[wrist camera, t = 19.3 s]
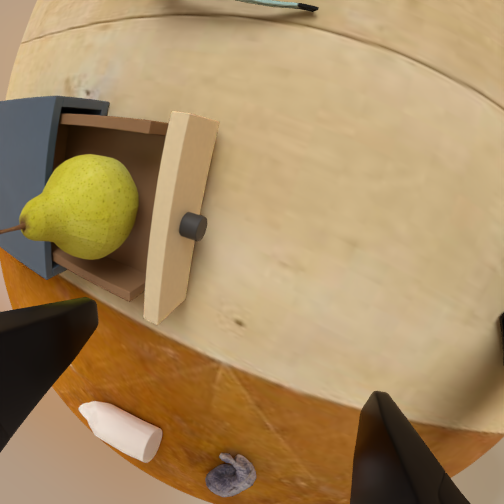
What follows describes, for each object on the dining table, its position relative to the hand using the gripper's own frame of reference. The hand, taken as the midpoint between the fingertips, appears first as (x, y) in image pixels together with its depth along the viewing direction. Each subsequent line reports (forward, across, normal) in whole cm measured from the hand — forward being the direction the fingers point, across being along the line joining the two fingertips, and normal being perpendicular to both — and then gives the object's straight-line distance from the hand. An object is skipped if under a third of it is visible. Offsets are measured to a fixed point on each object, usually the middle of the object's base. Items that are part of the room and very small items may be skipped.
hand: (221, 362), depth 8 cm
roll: (+14, +15, +29) cm, 35 cm away
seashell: (+13, -2, +30) cm, 33 cm away
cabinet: (+14, +25, -1) cm, 28 cm away
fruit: (+12, +12, -1) cm, 17 cm away
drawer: (+13, +13, -1) cm, 18 cm away
